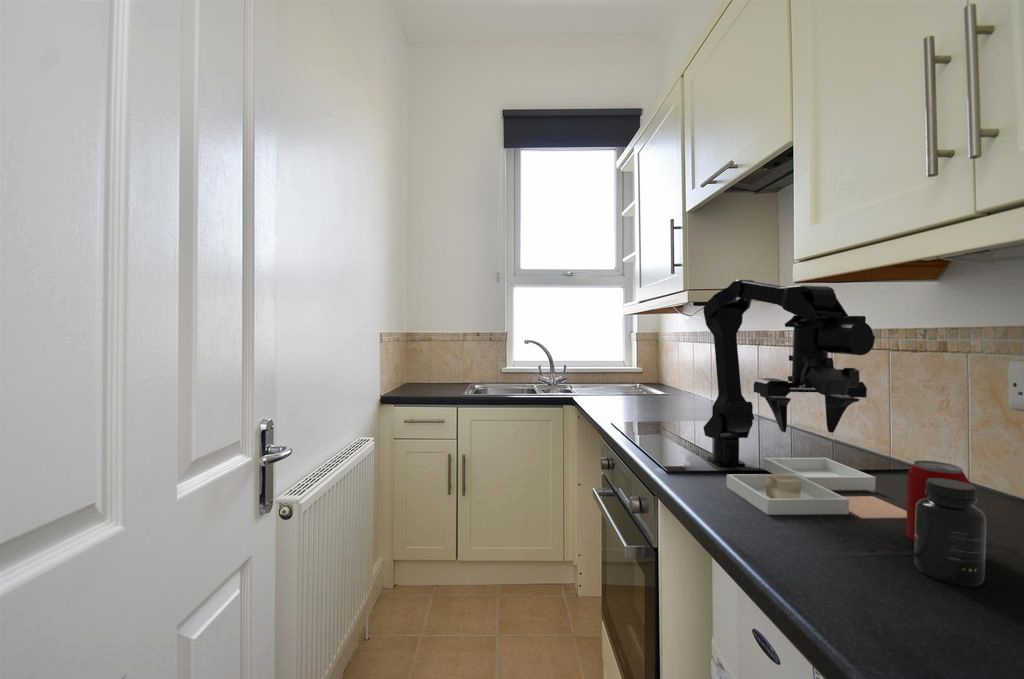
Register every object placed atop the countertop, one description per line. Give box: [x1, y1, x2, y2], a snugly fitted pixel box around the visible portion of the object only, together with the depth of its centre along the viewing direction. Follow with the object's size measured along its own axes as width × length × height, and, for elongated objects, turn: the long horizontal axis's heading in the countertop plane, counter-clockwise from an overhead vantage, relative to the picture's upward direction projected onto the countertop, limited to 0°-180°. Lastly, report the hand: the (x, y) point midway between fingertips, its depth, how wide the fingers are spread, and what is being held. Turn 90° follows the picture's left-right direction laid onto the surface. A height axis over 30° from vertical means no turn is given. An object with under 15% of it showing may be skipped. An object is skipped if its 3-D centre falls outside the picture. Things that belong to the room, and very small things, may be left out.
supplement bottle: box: [913, 478, 987, 587], centre depth 62 cm, size 7×7×12 cm
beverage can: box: [906, 460, 970, 543], centre depth 70 cm, size 7×7×12 cm
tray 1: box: [726, 473, 850, 516], centre depth 88 cm, size 14×14×3 cm
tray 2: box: [763, 457, 876, 493], centre depth 100 cm, size 14×14×3 cm
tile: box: [844, 495, 907, 520], centre depth 84 cm, size 10×10×1 cm
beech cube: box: [766, 475, 801, 499], centre depth 88 cm, size 4×4×4 cm
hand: (807, 432), depth 91 cm, fingers open, 9 cm apart
